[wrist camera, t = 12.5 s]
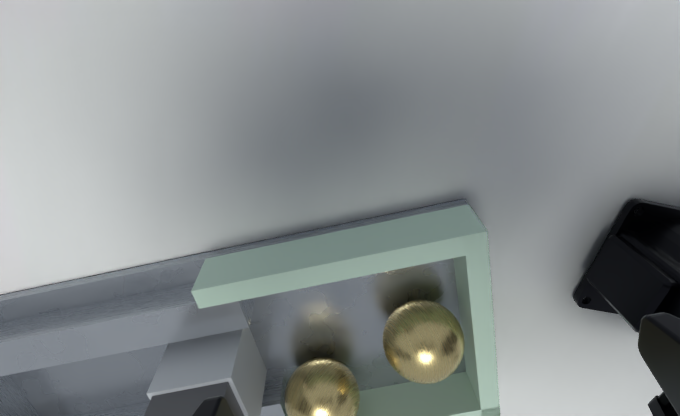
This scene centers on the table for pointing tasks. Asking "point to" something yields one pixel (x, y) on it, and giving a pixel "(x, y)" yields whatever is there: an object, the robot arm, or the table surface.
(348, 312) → the slot rail
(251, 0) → the table surface
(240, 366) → the tall gray pillar
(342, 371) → the brass sphere
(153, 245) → the table surface
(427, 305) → the gold ball
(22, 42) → the table surface
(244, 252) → the tray
